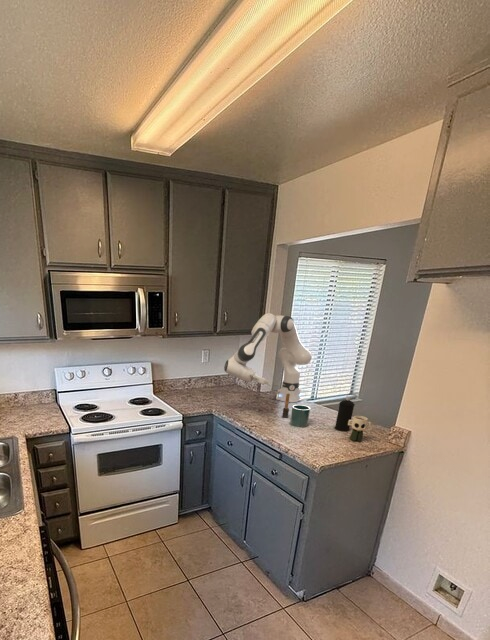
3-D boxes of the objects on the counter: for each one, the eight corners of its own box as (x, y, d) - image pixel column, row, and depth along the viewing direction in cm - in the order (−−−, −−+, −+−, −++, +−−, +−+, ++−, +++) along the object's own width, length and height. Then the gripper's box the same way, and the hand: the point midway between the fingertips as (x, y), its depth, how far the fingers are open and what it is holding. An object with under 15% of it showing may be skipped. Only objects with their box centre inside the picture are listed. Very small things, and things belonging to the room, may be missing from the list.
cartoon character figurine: (345, 440, 197) (350, 418, 192) (344, 436, 203) (348, 414, 198) (367, 443, 193) (372, 420, 188) (365, 438, 199) (370, 416, 194)
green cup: (288, 421, 227) (291, 404, 223) (305, 421, 225) (307, 405, 221) (291, 426, 217) (294, 409, 213) (309, 427, 216) (312, 410, 212)
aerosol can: (352, 430, 211) (359, 398, 204) (341, 432, 209) (347, 399, 202) (342, 426, 219) (348, 394, 211) (331, 427, 216) (337, 395, 209)
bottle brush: (281, 416, 236) (284, 392, 230) (287, 416, 235) (290, 392, 230) (282, 417, 233) (285, 394, 227) (288, 418, 232) (291, 394, 226)
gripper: (254, 371, 214) (275, 380, 215) (247, 368, 234) (266, 376, 235) (249, 381, 216) (270, 390, 217) (243, 377, 235) (261, 385, 236)
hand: (268, 383), depth 226 cm, fingers open, 8 cm apart
